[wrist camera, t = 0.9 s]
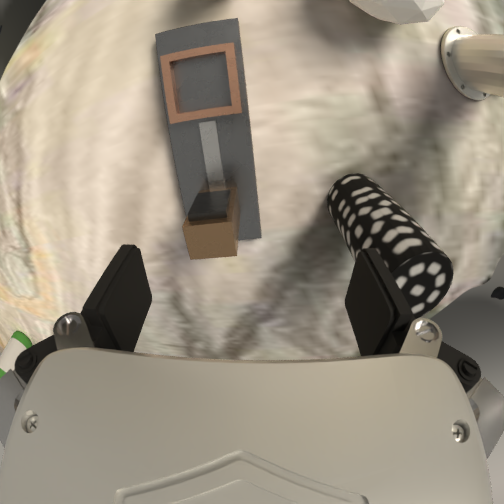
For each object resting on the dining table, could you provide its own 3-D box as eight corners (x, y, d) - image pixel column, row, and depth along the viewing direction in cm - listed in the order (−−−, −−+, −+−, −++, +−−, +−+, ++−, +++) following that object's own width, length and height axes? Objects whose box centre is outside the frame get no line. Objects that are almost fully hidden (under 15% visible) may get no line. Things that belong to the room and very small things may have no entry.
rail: (238, 21, 25) (231, -9, 15) (261, 231, 41) (263, 283, 31) (160, 36, 25) (120, 18, 15) (195, 237, 42) (178, 289, 32)
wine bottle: (36, 345, 63) (2, 421, 38) (26, 346, 64) (-7, 416, 39) (21, 328, 59) (-19, 405, 34) (12, 330, 60) (-25, 401, 35)
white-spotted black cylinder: (317, 213, 40) (359, 313, 23) (343, 163, 35) (414, 238, 19) (362, 232, 41) (416, 328, 24) (388, 187, 37) (466, 267, 20)
